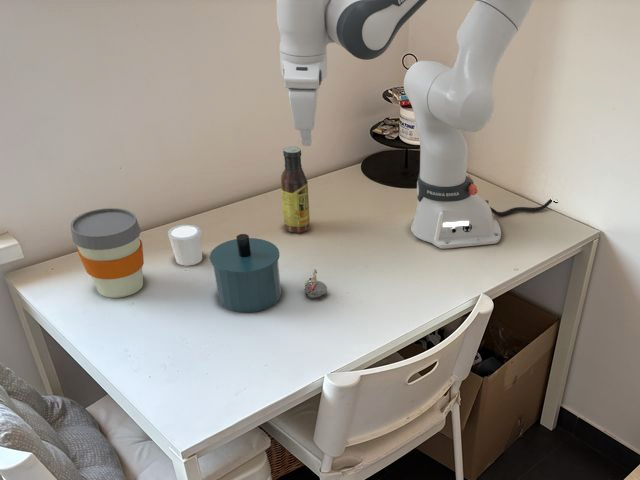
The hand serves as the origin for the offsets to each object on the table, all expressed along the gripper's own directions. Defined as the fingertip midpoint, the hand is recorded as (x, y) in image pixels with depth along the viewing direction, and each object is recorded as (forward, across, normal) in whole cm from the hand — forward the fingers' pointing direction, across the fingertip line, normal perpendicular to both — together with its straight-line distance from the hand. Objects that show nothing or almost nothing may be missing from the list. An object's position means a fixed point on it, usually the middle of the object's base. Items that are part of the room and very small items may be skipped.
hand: (308, 135), depth 145 cm
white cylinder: (+29, 0, -28) cm, 41 cm away
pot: (+29, +15, -13) cm, 35 cm away
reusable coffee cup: (+29, +11, -40) cm, 51 cm away
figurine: (+29, +15, 0) cm, 33 cm away
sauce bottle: (+29, -15, -5) cm, 33 cm away
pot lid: (+20, +15, -13) cm, 28 cm away
